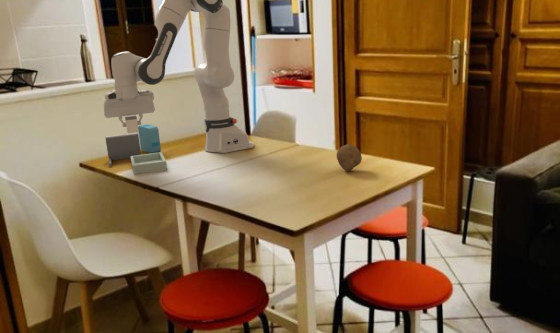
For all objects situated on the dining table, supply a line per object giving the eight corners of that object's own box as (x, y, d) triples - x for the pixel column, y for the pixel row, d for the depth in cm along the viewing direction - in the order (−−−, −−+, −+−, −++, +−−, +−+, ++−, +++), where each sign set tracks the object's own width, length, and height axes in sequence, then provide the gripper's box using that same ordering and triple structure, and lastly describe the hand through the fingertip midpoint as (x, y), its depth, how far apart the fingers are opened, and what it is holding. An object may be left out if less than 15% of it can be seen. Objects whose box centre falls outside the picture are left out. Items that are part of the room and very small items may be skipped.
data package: (161, 152, 239) (158, 126, 236) (152, 154, 236) (149, 128, 233) (149, 148, 248) (146, 123, 245) (141, 150, 245) (137, 125, 242)
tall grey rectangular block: (137, 128, 221) (135, 114, 220) (138, 131, 213) (136, 117, 211) (126, 129, 220) (124, 115, 218) (127, 133, 212) (125, 119, 210)
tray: (162, 160, 225) (161, 152, 224) (167, 169, 209) (166, 161, 208) (131, 164, 221) (130, 156, 220) (134, 174, 205) (132, 165, 204)
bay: (141, 155, 235) (137, 132, 232) (143, 162, 223) (140, 138, 220) (108, 159, 231) (105, 136, 228) (109, 167, 219) (105, 142, 216)
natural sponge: (353, 166, 197) (352, 140, 195) (366, 171, 189) (366, 144, 187) (332, 170, 194) (331, 144, 191) (345, 175, 186) (344, 148, 183)
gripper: (152, 88, 218) (156, 121, 222) (101, 94, 212) (106, 127, 216) (153, 90, 212) (158, 123, 216) (101, 96, 207) (106, 130, 210)
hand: (132, 125), depth 216 cm, fingers closed on tall grey rectangular block, 4 cm apart
